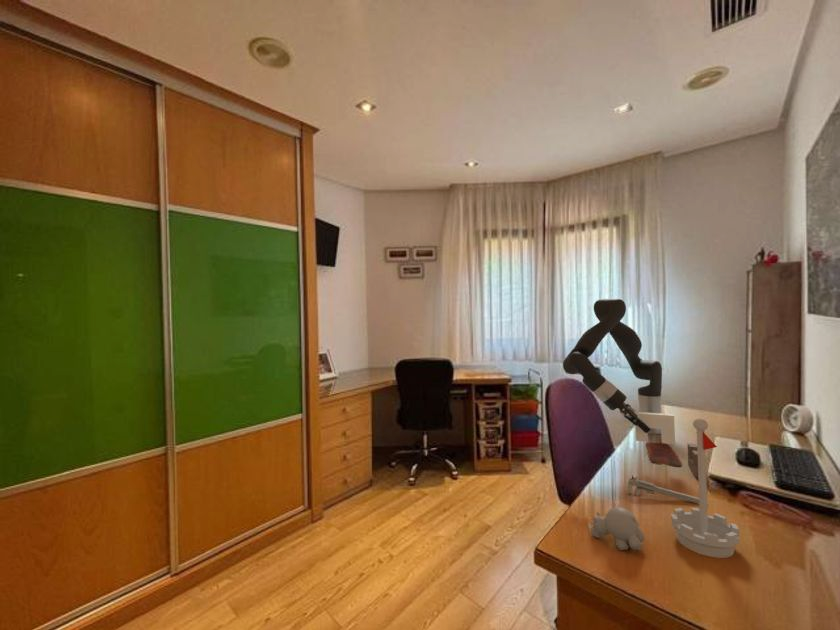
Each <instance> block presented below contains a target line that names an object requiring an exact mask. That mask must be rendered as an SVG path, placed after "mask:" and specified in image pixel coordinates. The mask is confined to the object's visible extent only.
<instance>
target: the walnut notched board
mask: <svg viewBox="0 0 840 630" xmlns="http://www.w3.org/2000/svg"><path fill="white" fill-rule="evenodd" d="M687 465H688V467H689V469H690V471H691V473H692V474H693V476H694V478H695V479H698V452H697V444H696V443H690V442H688V443H687Z"/></svg>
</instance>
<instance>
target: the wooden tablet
mask: <svg viewBox="0 0 840 630" xmlns="http://www.w3.org/2000/svg"><path fill="white" fill-rule="evenodd" d="M645 444H646V445H645V448H646V451H647V455H648V457H649V461H650V463H652V464H653V465H654V464H655V465H665V466H670V467H677V468H681V467H682V466H683V465H682V462H681V460H680V458H679V456H678V455H677V453H676V452H675V451H674V449H673V448H672V447H671V444H665V443H661V442H645Z"/></svg>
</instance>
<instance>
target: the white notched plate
mask: <svg viewBox="0 0 840 630" xmlns="http://www.w3.org/2000/svg"><path fill="white" fill-rule="evenodd" d="M635 413H636V414H637V417H638V418H640V419H641V420H642V422H644V423H645V424H646V425H647V426H648V427H649V428H654V429H661V434H660V435H661V442H662V443H665V444H668V445H676V429H675V426H676V425H675V415H674V414H673V413H663V412H662V413H647V412H639V411H636V412H635ZM636 420H637V419H635V421H636ZM634 429H635V430H634V432H635V441H636V442H637V441H638V442H645V443H649V434H648V433H645V432H644V431H643V430H642V429H641V428H640V427H638V426H637V425H636V426H635V425H634Z"/></svg>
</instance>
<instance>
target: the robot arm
mask: <svg viewBox="0 0 840 630" xmlns="http://www.w3.org/2000/svg"><path fill="white" fill-rule="evenodd" d="M626 311H627V305H626V303H625V301H624V300H623V299H622V298H621V299H620V298H600V299H597V300H596V301H595V302H594V304H593V312H594V315H595V317H596V318H597V320H598V321H599V322H597V323H596V324H594V325H593V326H592V327H590V328H589V329H587V330H586V331H584V333H583V334H582V335H581V337H580V338H579V339H578V341H577V342H576V344H575V346H574V348H573V349H571V351H570V352H569V353H568V354H567V356H566V357H565V358H564V360H563V361H562V368H563V370H564V371H565V372H566V373H567V374H568V375H575V374H578V373H579V374H580V375H581V376H582V383H583V384H584V385H585V387H587V388H588V389H589V390H590V391H591V392H592V393H593V394H594V395H595V396H596V398H597V399H599V400H600V401H601V402H602V403H603V404H604V405H605V406H606V407H607V408H609V410H611V411H615V410H616V409H618V410H619V413H620V414H621V415H622V416H623V418H625V419H627V420H628V421H629V422H630V423H632V424H633V425H634V427H635V426H636V425H637V426H638V427H640V428H641V429H642V430H643V431H644V432H645V433H648V435H661V429H654V428H649V427H648V426H647V425H646V424H645V423H644V422H642V420H641V419H640V418H638V417H637V414H636V413H635V412H637V411H636V410H635V409H634V408H632V406H631V405H630V404H629V403H627V404H626V403H625V402H626V400H627V396H626V395H625V394H624V392H622V391H621V390H620V389H619V388H618V387H616V385H614V384H613V383H612V382H610V381H609V380H608V379H607V378H605V377H604V375H602V374H601V373H600V372H599V371H598V370H597V369H596V367H595V366H594V364H593V362H592V361H591V360H590V359H589V358H590V357H591V356H592V355H593V354H594V353H595V351H596V349H597V348H598V346H599V345H600V343H601V342H602V341H603V339H605V337H606V336H607V335H608V334H609V335H610V336H611V338H612V339H613V340H614V342H615V344H616V345H617V347H618V349H619V350H620V351H621V353H622V354H623V356H624V358H625V360H626V362H627V364H628V365H629V368H630V369H631V372H632V373H633V375H634V376H635V378H637V379H638V380H642V381H643V380H644V381H649V384H647V385H645V386H640V387H638V390H637V398H638V399H637V402H638V412H647V413H662V414H663V412H662V411H663V410H662V389H663V388H662V387H663V382H662V381H663V380H662V379H663V368H662V364H661V363H660V362H659V361H658V360H647V359H642V358H640V356H639V354H640V353H641V350H642V346H643V345H642V344H643V343H642V341H641V338H640V337H639V335H638V334H637V332H636V330H634V329H633V328H632V327H630V326H629V325H627V324H625V323H624V322H622V321H621V320H623V318H624V317H625V315H626ZM635 419H637V420H636V421H635Z"/></svg>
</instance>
